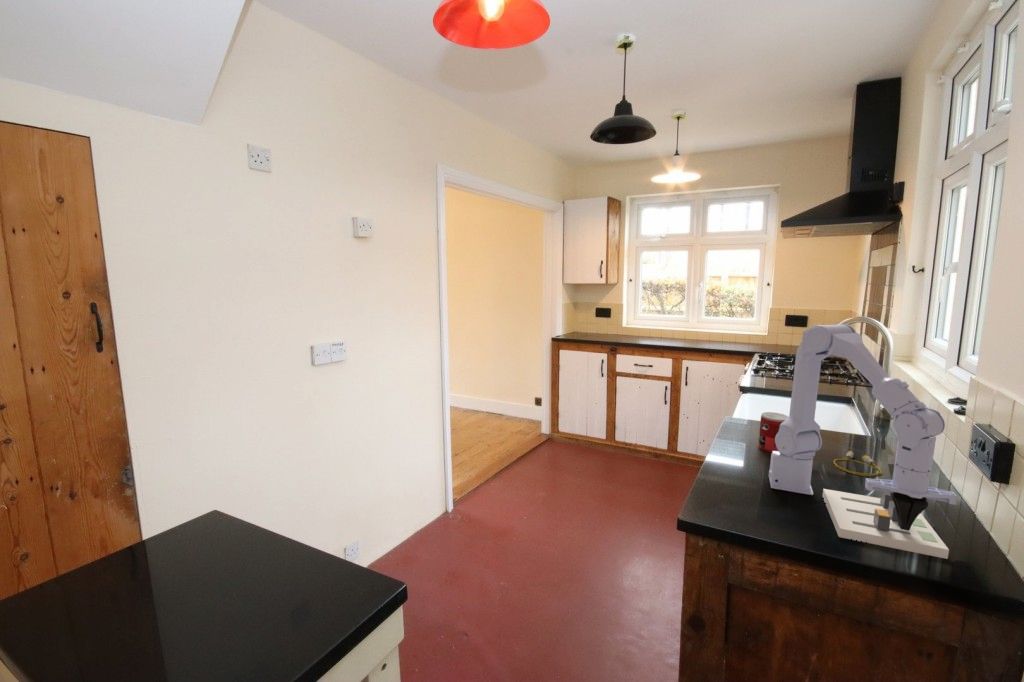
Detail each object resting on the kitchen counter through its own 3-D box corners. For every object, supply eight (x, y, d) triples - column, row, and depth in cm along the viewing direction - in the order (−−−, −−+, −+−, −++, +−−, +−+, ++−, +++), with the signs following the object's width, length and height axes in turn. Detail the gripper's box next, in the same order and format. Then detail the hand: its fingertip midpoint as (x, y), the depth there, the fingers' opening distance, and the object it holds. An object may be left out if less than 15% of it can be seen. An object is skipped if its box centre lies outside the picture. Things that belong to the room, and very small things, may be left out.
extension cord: (896, 470, 135) (897, 463, 134) (867, 481, 127) (868, 474, 127) (850, 455, 145) (850, 449, 145) (820, 465, 138) (821, 458, 138)
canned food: (760, 442, 154) (763, 410, 152) (788, 448, 149) (791, 415, 148) (756, 450, 148) (759, 416, 146) (785, 455, 143) (788, 421, 142)
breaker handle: (877, 528, 99) (879, 514, 99) (873, 522, 102) (875, 508, 101) (888, 531, 98) (890, 516, 98) (884, 524, 101) (886, 510, 100)
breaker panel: (838, 537, 100) (841, 513, 99) (822, 496, 118) (824, 476, 117) (947, 559, 93) (951, 534, 92) (912, 511, 111) (915, 490, 110)
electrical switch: (914, 499, 117) (914, 463, 116) (887, 495, 120) (887, 459, 119) (912, 486, 124) (913, 452, 123) (887, 482, 127) (888, 449, 126)
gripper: (874, 467, 96) (866, 529, 98) (967, 481, 90) (956, 546, 92) (865, 455, 102) (858, 513, 104) (952, 467, 96) (942, 528, 98)
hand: (903, 527), depth 98 cm, fingers closed
